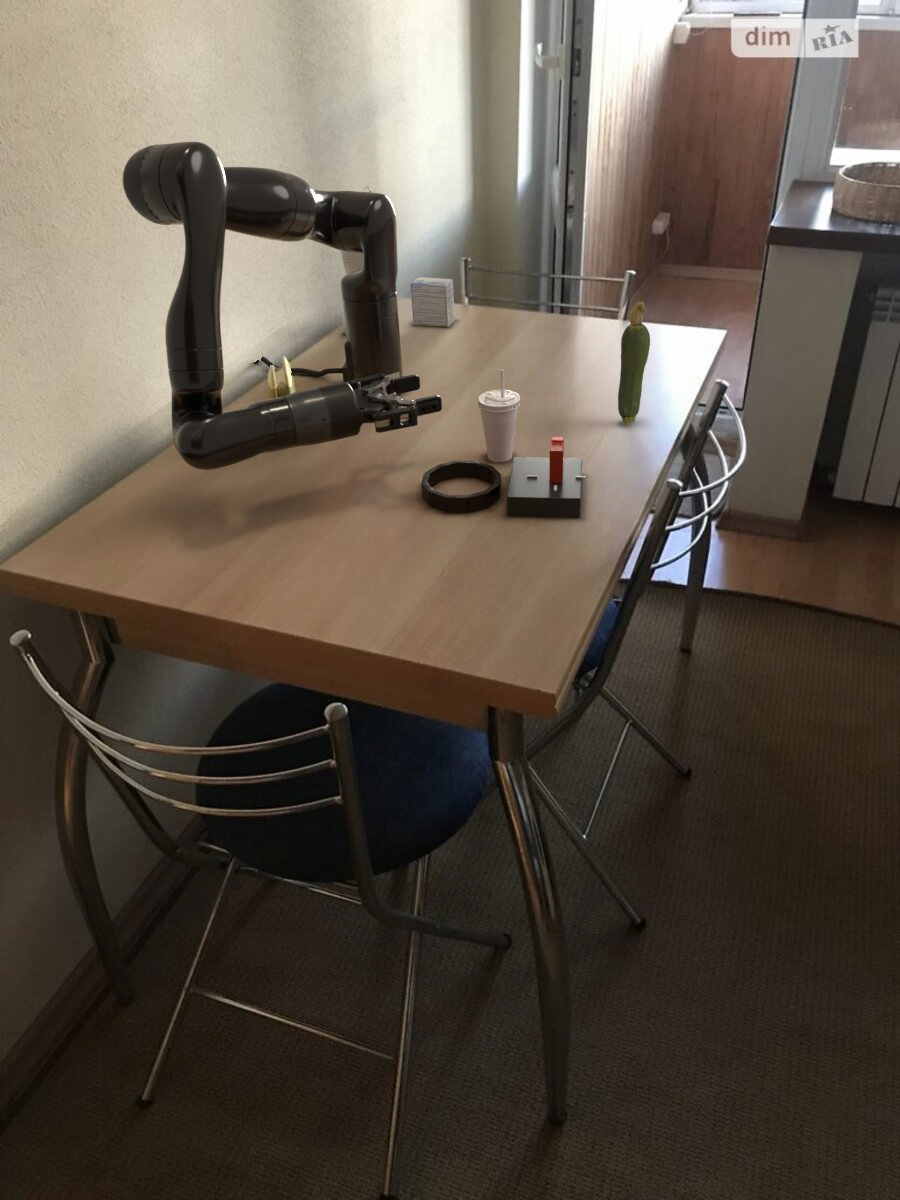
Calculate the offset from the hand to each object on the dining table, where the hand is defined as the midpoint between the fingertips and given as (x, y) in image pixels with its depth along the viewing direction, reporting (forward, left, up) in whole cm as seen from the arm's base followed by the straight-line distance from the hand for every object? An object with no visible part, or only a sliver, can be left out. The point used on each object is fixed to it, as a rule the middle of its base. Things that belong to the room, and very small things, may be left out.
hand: (429, 391), depth 136 cm
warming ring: (+5, -7, -13) cm, 15 cm away
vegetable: (+29, +18, -13) cm, 37 cm away
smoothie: (+9, +5, -13) cm, 17 cm away
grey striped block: (-10, +65, -13) cm, 67 cm away
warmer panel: (+17, -7, -13) cm, 22 cm away
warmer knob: (+18, -7, -10) cm, 22 cm away
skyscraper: (-23, +60, -13) cm, 66 cm away
